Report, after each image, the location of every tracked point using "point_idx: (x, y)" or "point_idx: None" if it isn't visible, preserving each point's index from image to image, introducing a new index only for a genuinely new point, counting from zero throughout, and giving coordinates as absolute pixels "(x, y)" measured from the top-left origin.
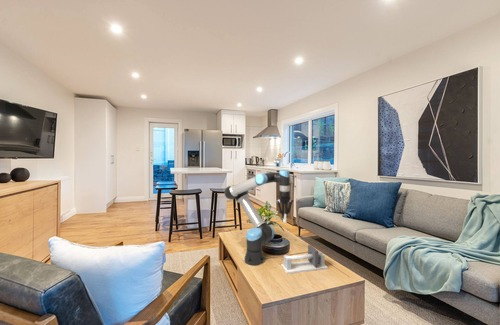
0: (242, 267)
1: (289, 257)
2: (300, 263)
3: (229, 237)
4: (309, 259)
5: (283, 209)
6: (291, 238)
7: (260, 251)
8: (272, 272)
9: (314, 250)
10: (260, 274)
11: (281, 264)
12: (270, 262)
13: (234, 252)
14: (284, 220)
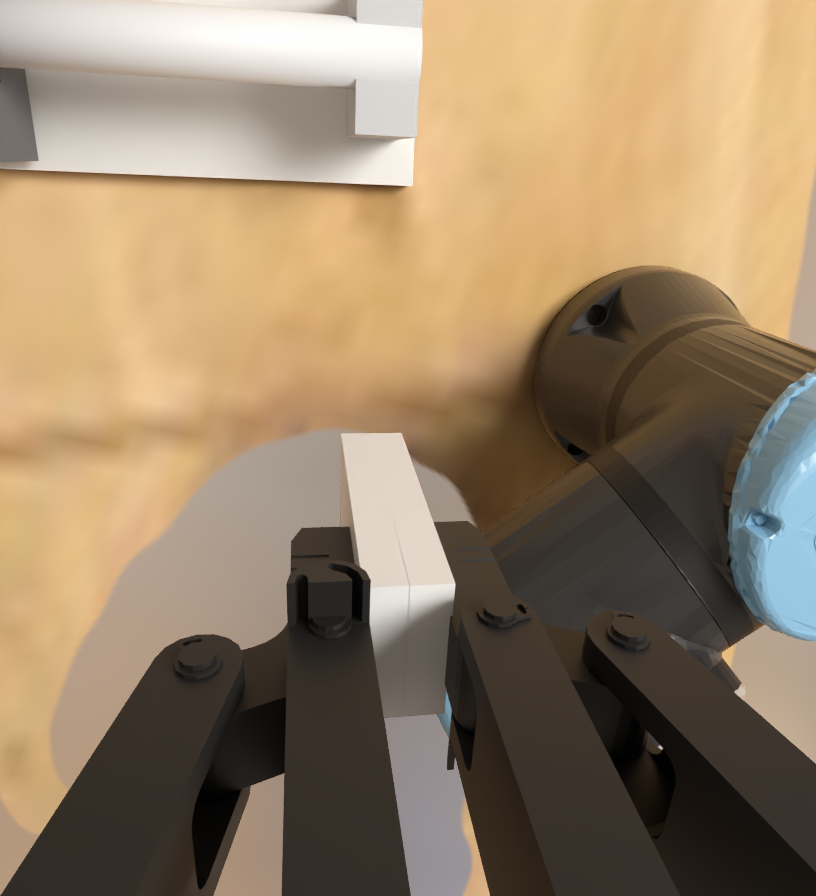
0: (796, 260)
1: (365, 26)
2: (170, 125)
3: None
4: (21, 111)
5: (574, 767)
6: (54, 795)
7: (655, 339)
8: (563, 55)
9: None
10: (699, 52)
11: (412, 175)
12: (492, 294)
13: None
14: (408, 465)
